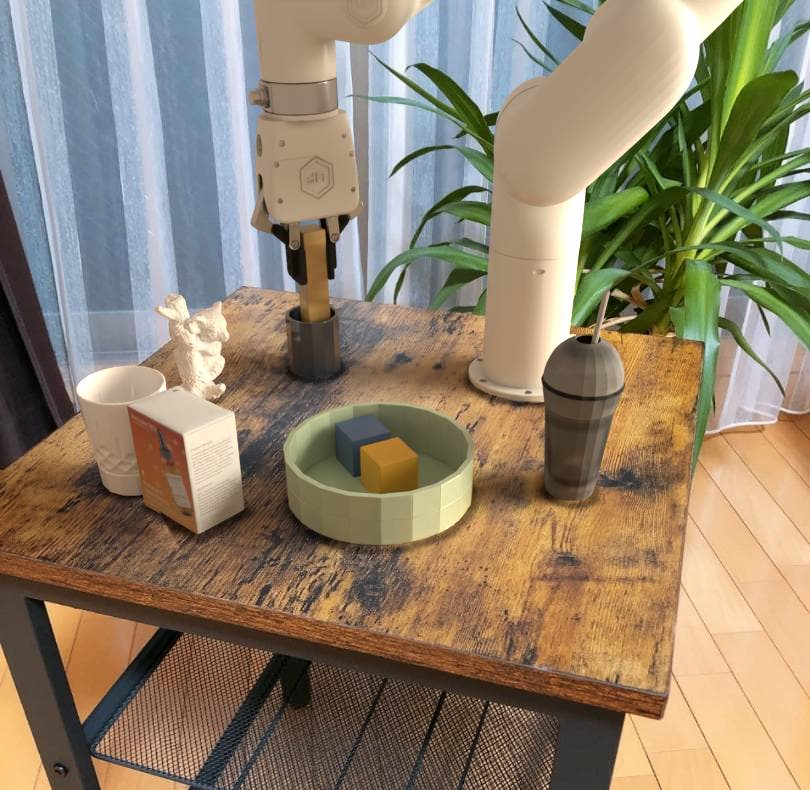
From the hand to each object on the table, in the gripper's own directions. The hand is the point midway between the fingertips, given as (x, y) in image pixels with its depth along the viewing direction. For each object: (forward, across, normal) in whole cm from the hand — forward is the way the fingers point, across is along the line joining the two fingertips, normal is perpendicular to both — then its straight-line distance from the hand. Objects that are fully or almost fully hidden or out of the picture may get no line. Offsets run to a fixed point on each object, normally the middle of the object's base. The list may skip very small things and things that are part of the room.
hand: (312, 277), depth 101 cm
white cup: (+11, -25, -14) cm, 31 cm away
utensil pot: (+11, 0, 0) cm, 11 cm away
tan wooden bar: (+10, 0, 0) cm, 10 cm away
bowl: (+11, -6, -28) cm, 31 cm away
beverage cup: (+12, +10, -36) cm, 39 cm away
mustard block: (+11, -5, -28) cm, 30 cm away
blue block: (+11, -6, -22) cm, 26 cm away
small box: (+11, -22, -22) cm, 33 cm away
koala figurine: (+11, -14, 0) cm, 18 cm away
